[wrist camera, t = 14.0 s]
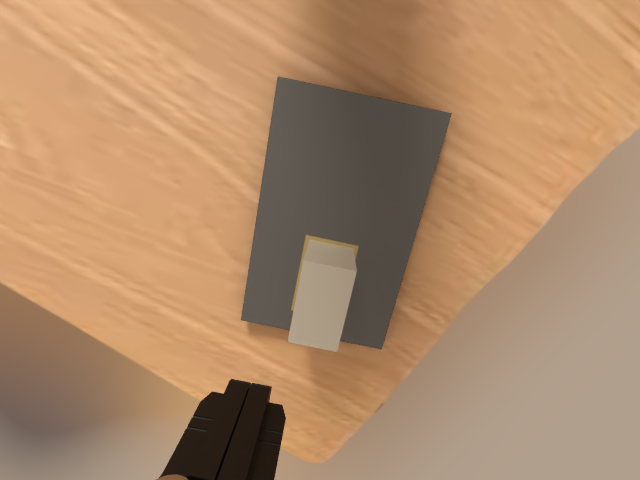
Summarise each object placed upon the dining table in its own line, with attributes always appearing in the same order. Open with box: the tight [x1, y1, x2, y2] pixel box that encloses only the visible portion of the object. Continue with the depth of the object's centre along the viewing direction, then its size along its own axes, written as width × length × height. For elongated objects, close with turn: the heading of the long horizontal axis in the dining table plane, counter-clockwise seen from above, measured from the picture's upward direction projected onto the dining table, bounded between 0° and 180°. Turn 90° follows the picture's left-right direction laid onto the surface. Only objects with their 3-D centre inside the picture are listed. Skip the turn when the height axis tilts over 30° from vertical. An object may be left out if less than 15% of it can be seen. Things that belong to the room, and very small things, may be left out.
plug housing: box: [288, 240, 357, 352], centre depth 27 cm, size 7×4×6 cm, turn 169°
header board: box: [241, 77, 452, 349], centre depth 28 cm, size 22×14×6 cm, turn 169°
